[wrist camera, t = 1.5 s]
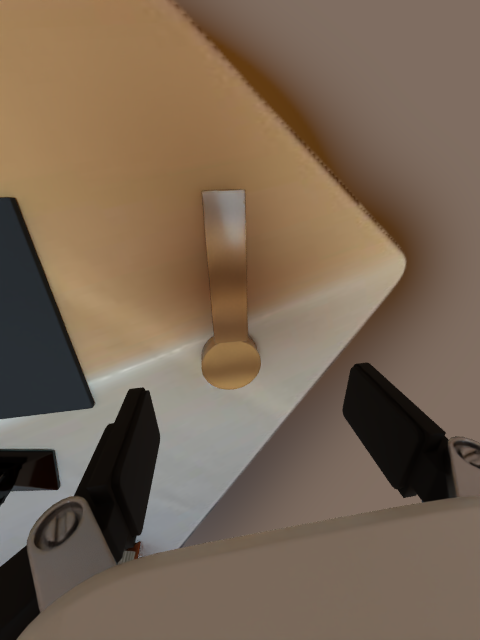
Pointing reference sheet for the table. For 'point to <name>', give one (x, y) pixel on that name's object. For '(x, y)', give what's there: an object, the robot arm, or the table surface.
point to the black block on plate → (27, 471)
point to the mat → (32, 332)
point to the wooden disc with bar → (228, 292)
